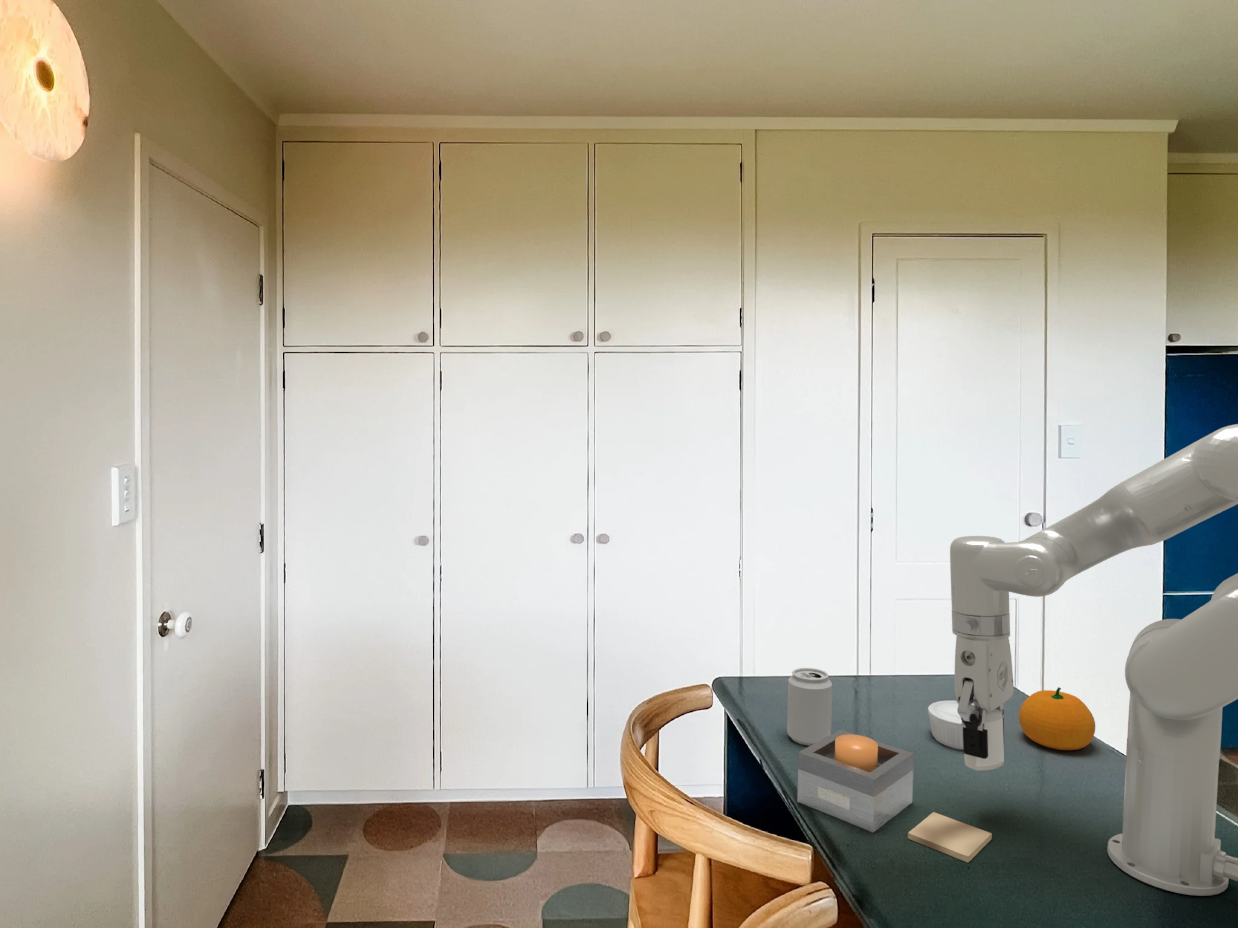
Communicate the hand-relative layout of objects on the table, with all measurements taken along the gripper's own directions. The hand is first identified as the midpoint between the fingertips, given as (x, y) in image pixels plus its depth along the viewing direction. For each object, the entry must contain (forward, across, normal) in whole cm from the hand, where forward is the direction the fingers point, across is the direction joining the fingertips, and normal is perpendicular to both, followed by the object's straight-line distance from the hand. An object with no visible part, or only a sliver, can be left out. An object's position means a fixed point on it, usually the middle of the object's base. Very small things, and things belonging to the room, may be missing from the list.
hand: (984, 747), depth 112 cm
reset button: (+5, -10, +15) cm, 19 cm away
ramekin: (+9, +24, +13) cm, 29 cm away
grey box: (+9, -10, +15) cm, 20 cm away
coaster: (+10, -10, +1) cm, 14 cm away
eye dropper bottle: (+3, 0, 0) cm, 3 cm away
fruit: (+10, +35, +1) cm, 36 cm away
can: (+8, +5, +32) cm, 33 cm away
